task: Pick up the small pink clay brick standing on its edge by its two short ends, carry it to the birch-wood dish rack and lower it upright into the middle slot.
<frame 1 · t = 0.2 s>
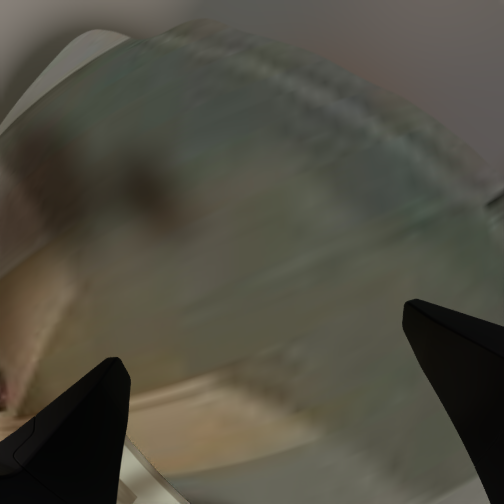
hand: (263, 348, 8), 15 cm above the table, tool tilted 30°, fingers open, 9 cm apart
dish rack: (92, 492, 19), on the table
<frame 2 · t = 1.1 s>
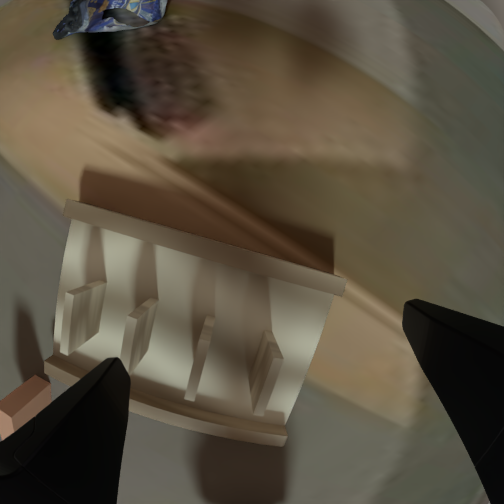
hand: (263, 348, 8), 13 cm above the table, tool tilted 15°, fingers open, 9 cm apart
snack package: (111, 16, 20), on the table
dish rack: (179, 328, 21), on the table
pink clay brick: (43, 402, 21), on the table
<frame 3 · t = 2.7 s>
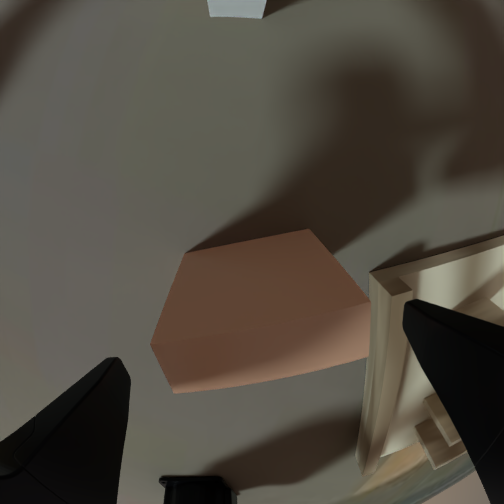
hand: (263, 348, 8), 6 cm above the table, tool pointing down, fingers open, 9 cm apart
dish rack: (441, 365, 18), on the table
pink clay brick: (250, 260, 14), on the table
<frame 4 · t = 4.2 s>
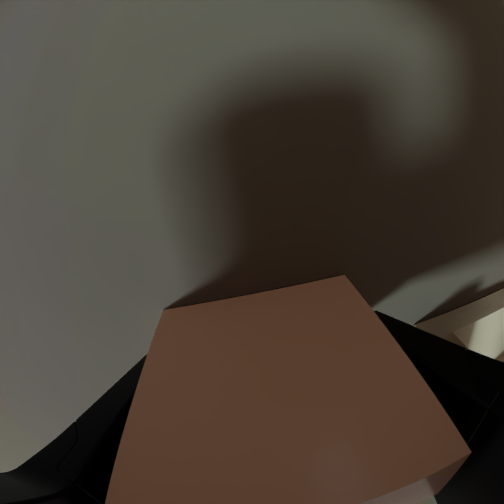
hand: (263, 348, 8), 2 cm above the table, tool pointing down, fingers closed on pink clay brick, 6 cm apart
dish rack: (471, 407, 14), on the table
pink clay brick: (259, 319, 10), on the table, touching gripper
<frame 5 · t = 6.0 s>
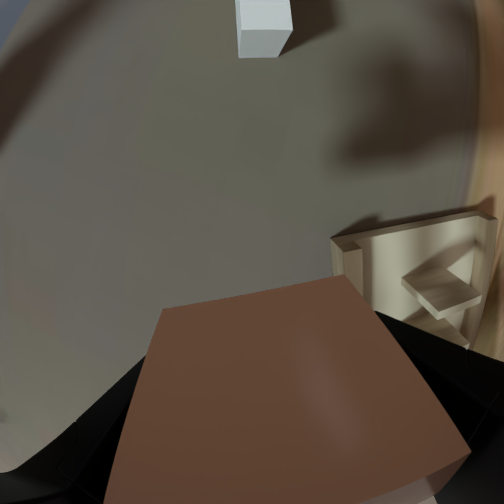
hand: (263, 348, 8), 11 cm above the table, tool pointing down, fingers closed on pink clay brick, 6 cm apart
dish rack: (408, 330, 23), on the table
pink clay brick: (258, 319, 10), point 10 cm above the table, touching gripper
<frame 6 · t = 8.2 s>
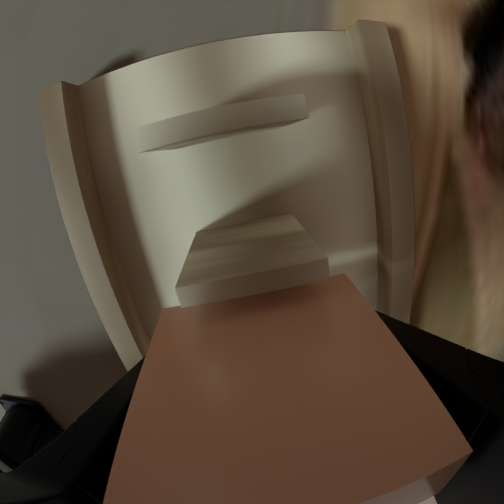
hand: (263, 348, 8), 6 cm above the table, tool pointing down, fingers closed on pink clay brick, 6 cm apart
dish rack: (252, 263, 14), on the table
pink clay brick: (258, 318, 10), point 5 cm above the table, touching gripper
when the fingers open (4 cm above the table, at t = 9.5 s): pink clay brick stays where it is, point 3 cm above the table.
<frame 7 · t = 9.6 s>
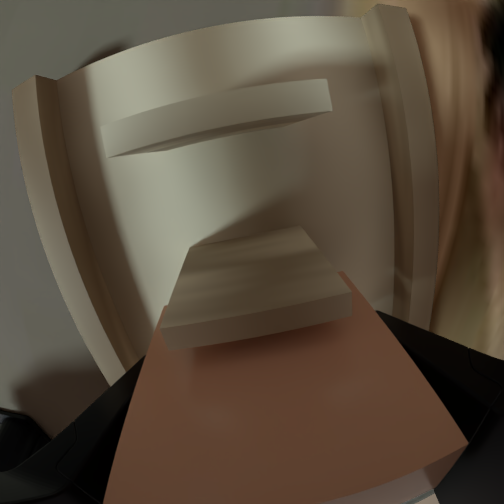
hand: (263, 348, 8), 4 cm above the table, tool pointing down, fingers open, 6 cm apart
dish rack: (254, 280, 12), on the table
pink clay brick: (258, 315, 10), point 3 cm above the table
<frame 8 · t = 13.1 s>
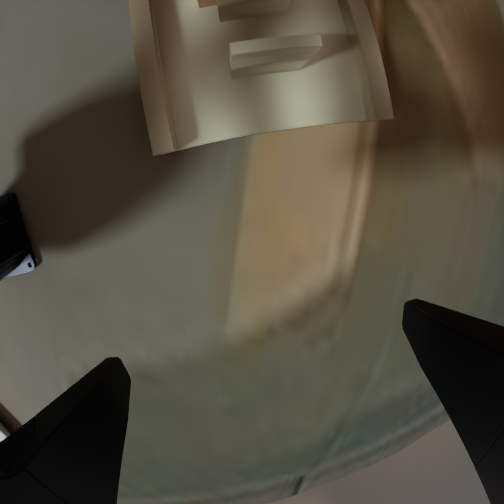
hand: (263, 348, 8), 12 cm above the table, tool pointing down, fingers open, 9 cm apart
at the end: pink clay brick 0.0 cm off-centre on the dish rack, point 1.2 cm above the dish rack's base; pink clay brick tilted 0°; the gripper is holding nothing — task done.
